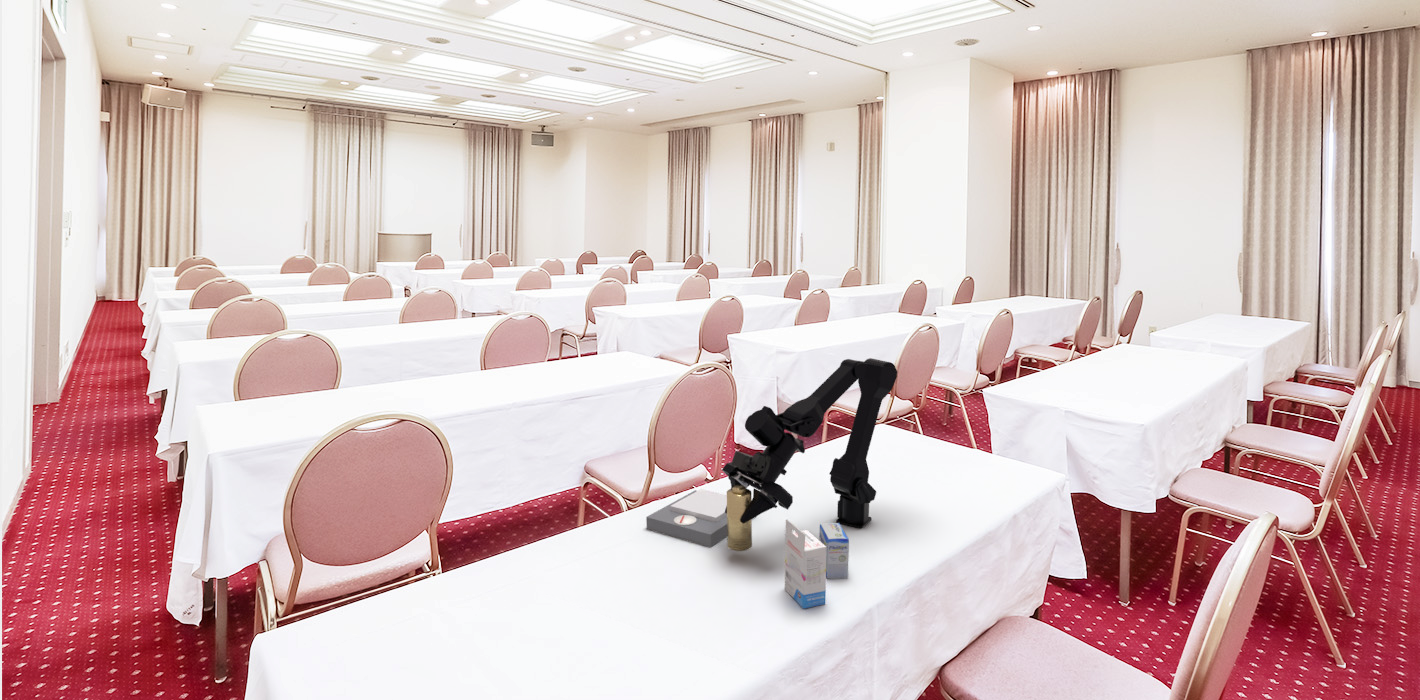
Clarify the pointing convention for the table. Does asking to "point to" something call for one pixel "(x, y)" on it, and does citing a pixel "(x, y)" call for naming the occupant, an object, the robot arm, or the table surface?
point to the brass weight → (738, 519)
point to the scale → (693, 518)
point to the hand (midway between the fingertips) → (733, 517)
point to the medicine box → (835, 550)
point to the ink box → (805, 567)
